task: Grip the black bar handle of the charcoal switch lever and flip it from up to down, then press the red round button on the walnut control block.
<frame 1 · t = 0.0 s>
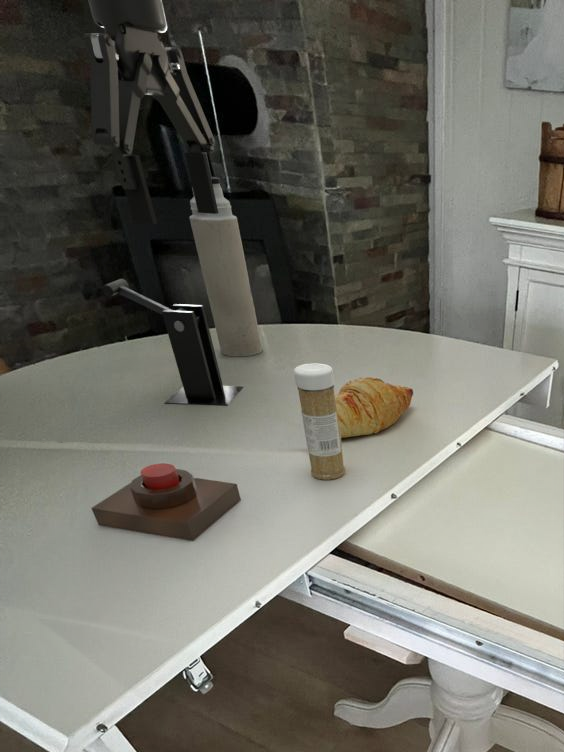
hand: (179, 218, 77), 25 cm above the table, tool pointing down, fingers open, 13 cm apart
thermos bottle: (242, 352, 120), on the table
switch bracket: (207, 401, 97), on the table
croissant: (364, 425, 92), on the table
button block: (172, 512, 69), on the table
spice jar: (328, 475, 79), on the table
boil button: (160, 477, 66), point 4 cm above the table, slide at 0.1 cm
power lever: (154, 305, 88), point 14 cm above the table, hinge at 25.0°
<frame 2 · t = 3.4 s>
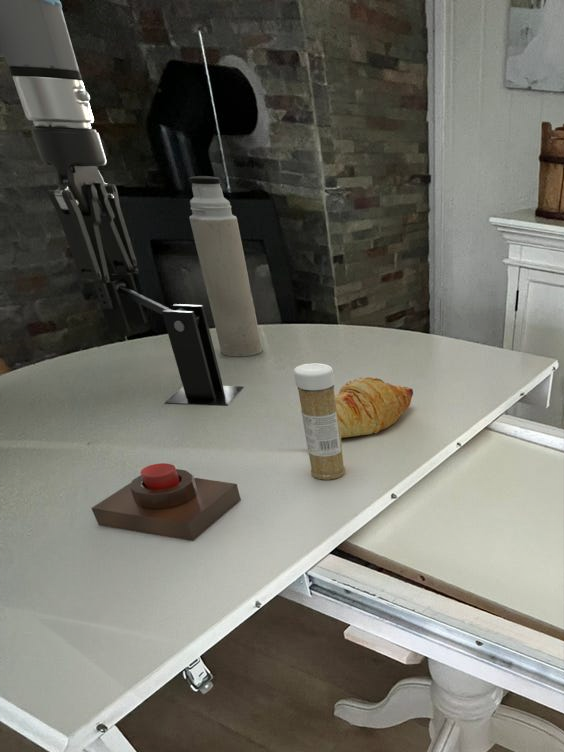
hand: (128, 326, 90), 11 cm above the table, tool pointing down, fingers closed on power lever, 5 cm apart
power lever: (154, 305, 88), point 14 cm above the table, hinge at 25.0°, touching gripper
everything else where it was.
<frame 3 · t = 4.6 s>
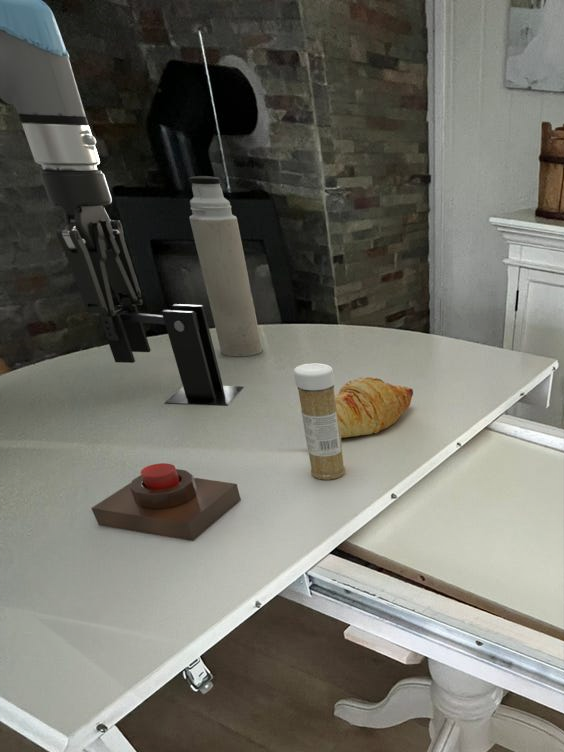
hand: (133, 356, 92), 7 cm above the table, tool pointing down, fingers closed on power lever, 5 cm apart
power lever: (155, 319, 89), point 12 cm above the table, hinge at 2.3°, touching gripper
everything else where it was.
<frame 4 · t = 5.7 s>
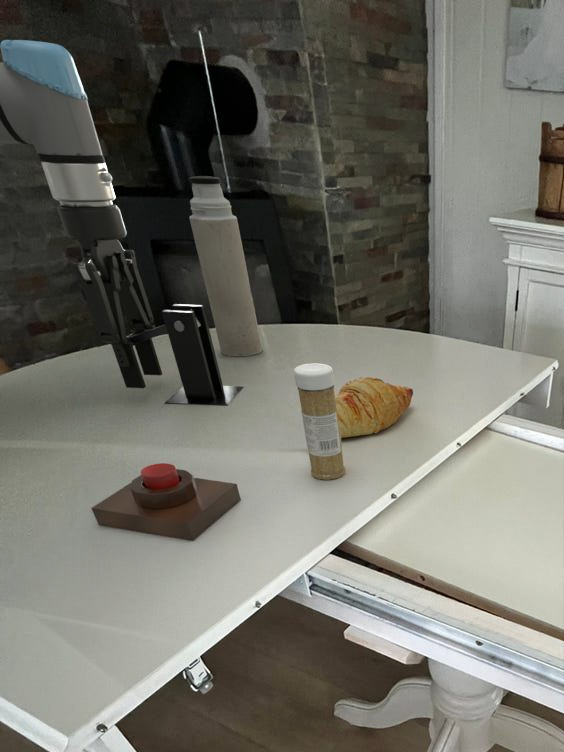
hand: (144, 380, 95), 3 cm above the table, tool pointing down, fingers open, 6 cm apart
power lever: (159, 330, 90), point 11 cm above the table, hinge at -17.6°
everything else where it was.
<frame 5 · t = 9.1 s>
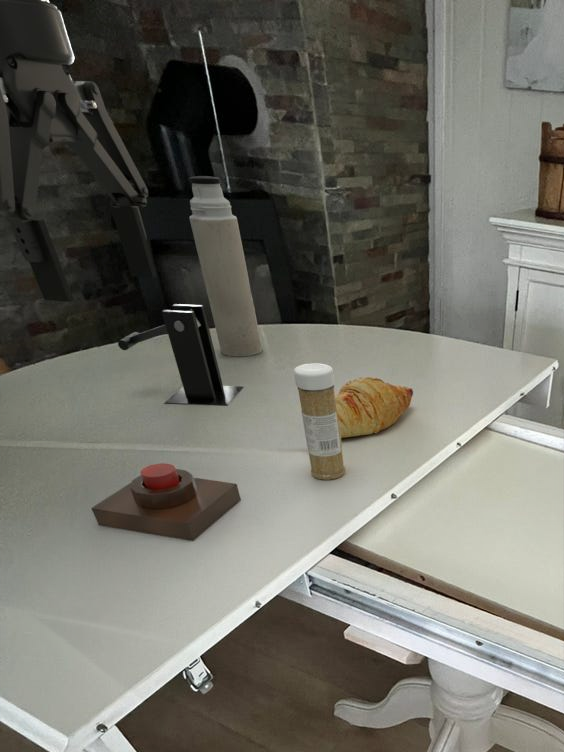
hand: (105, 287, 63), 21 cm above the table, tool pointing down, fingers open, 13 cm apart
nothing on the table moved.
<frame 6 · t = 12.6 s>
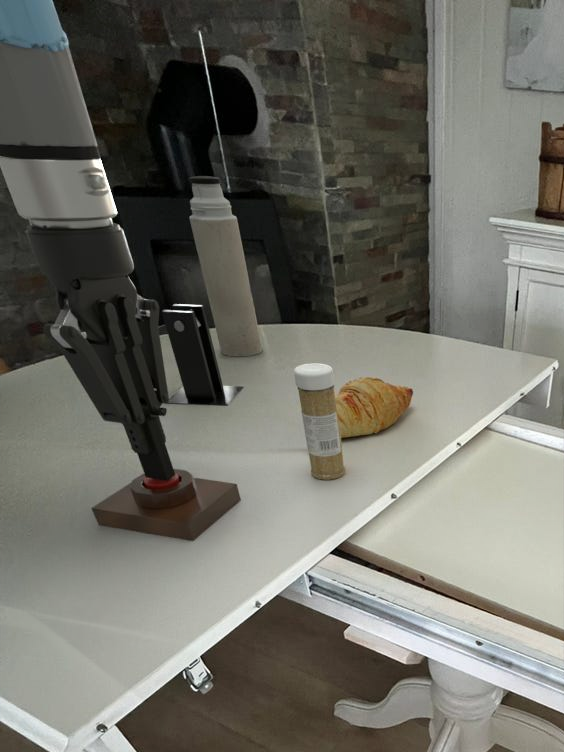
hand: (160, 476, 66), 5 cm above the table, tool pointing down, fingers closed
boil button: (163, 485, 67), point 3 cm above the table, slide at -0.9 cm, touching gripper
everything else where it was.
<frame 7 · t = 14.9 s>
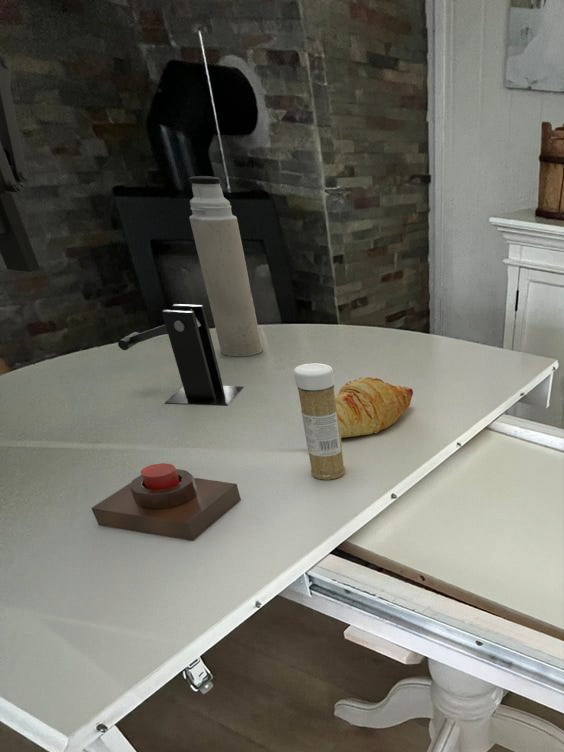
hand: (23, 269, 62), 23 cm above the table, tool pointing down, fingers closed
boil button: (160, 477, 66), point 4 cm above the table, slide at 0.1 cm
everything else where it was.
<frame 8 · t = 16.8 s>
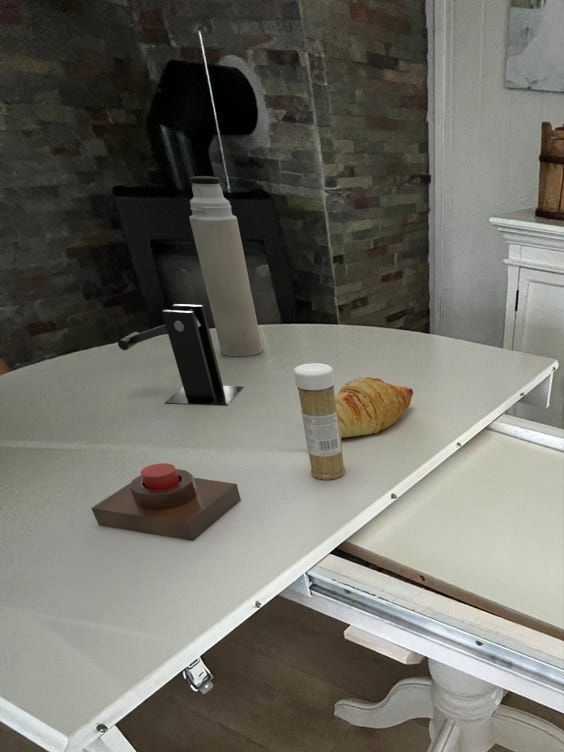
nothing on the table moved.
at the end: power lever at -18° (first picture: +25°); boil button pushed in 1.0 cm at the most during the clip, back to where it started at the end; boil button slide at 0.1 cm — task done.
